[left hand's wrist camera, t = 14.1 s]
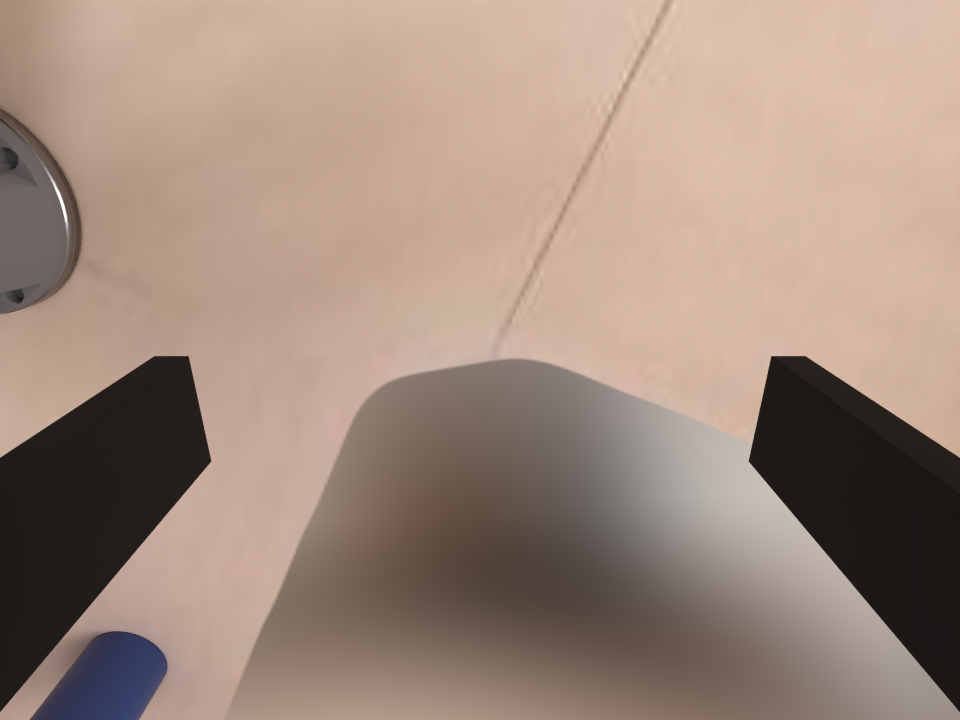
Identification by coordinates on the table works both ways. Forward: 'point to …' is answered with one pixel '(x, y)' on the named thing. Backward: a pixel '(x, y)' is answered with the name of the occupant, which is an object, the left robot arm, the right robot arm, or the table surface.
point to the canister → (107, 681)
